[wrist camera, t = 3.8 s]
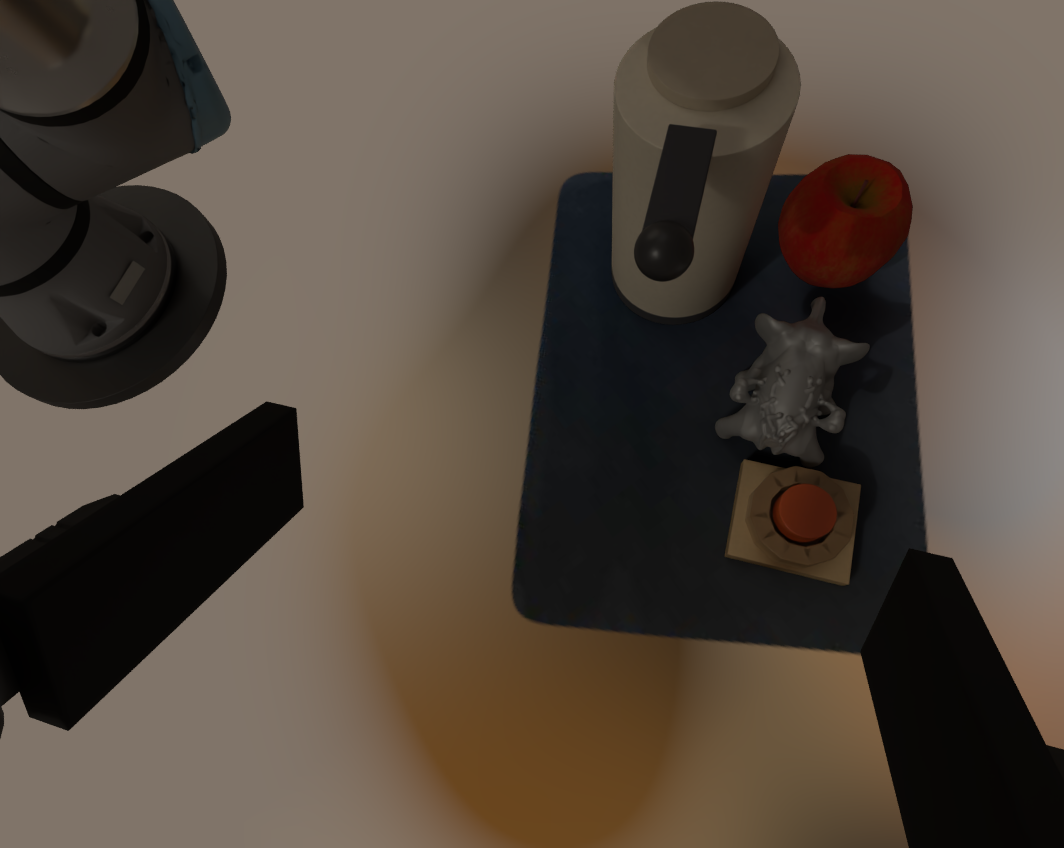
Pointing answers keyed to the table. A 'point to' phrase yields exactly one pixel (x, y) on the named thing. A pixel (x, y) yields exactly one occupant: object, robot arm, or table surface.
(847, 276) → the apple
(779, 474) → the button base
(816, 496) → the button
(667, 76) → the beige cylinder
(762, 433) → the grey toy figure
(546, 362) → the table surface
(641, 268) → the switch
